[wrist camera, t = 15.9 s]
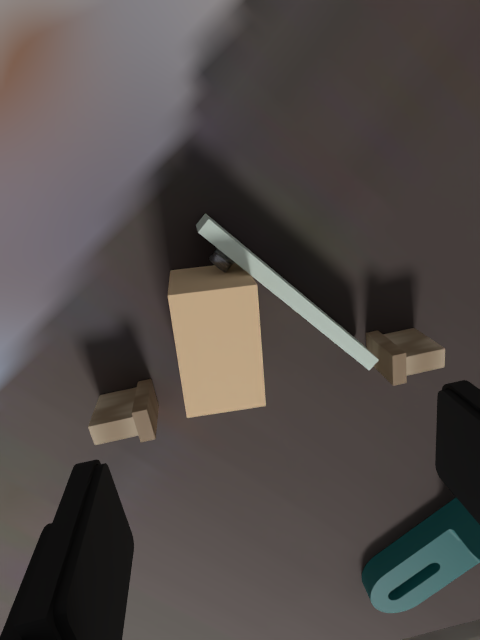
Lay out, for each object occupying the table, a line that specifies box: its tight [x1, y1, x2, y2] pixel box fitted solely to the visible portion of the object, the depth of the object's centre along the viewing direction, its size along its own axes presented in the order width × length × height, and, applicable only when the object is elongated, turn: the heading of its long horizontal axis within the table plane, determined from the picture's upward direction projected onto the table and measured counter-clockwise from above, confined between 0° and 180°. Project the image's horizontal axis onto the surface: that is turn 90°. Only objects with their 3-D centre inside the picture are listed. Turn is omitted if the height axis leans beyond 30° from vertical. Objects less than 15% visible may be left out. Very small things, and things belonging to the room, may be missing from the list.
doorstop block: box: [168, 263, 266, 418], centre depth 26 cm, size 5×8×6 cm, turn 5°
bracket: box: [362, 497, 480, 613], centre depth 37 cm, size 18×7×8 cm, turn 130°
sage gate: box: [196, 213, 379, 370], centre depth 27 cm, size 15×2×4 cm, turn 49°
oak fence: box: [88, 328, 445, 445], centre depth 29 cm, size 25×2×4 cm, turn 99°
